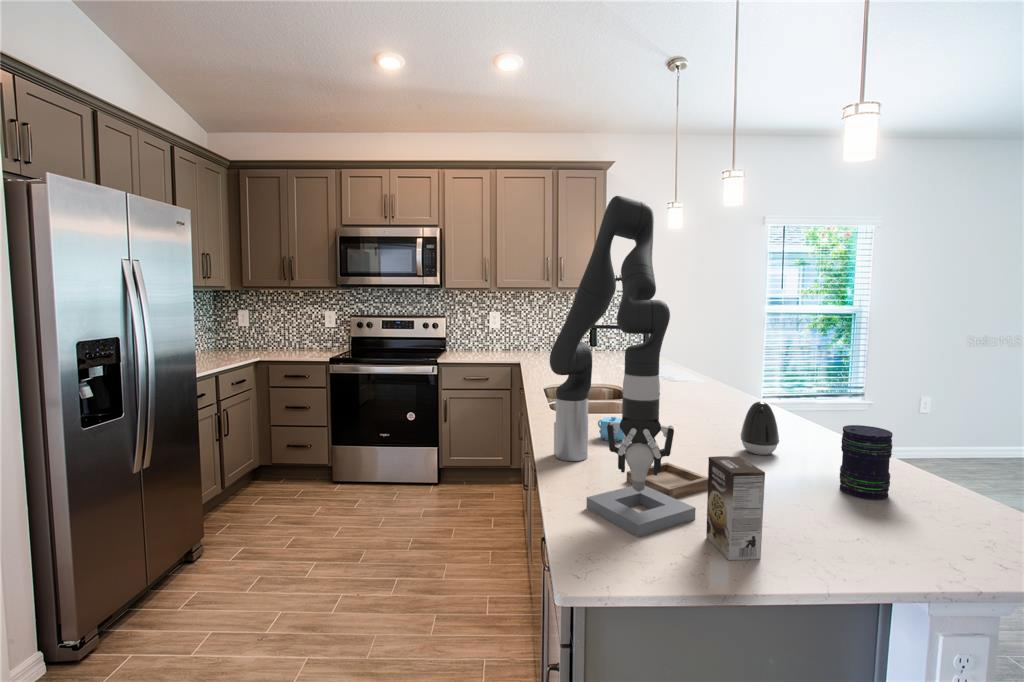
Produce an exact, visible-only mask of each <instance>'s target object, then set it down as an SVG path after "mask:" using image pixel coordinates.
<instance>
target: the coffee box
mask: <svg viewBox="0 0 1024 682" xmlns="http://www.w3.org/2000/svg"><path fill="white" fill-rule="evenodd" d="M707 470H708V471H707V477H708V489H707V498H706V499H707V503H706V506H707V507H706V539H707V540H709V542H710V543H711V544H712V545H713V546H714V547H715V548H716V549H717V550H718V551H719V552H720V553H721V554H722V555H723V556H724V557H725V559H727V561H744V560H746V561H747V560H748V561H749V559H750V560H761V558H762V557H761V556H762V541H763V540H762V537H763V536H762V535H763V523H764V521H763V519H764V500H765V480H766V471H764V470H762V469H760V468H758V467H757V466H756V465H754V464H752V463H750V461H748V460H746V459H744V458H742V456H741V457H740V456H727V455H724V456H723V455H722V456H708V467H707Z"/></svg>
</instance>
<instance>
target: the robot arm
mask: <svg viewBox="0 0 1024 682" xmlns="http://www.w3.org/2000/svg"><path fill="white" fill-rule="evenodd" d="M654 222H655V221H654V211H653V209H652V207H651V205H650V204H648V203H646V202H643V201H640V200H635V199H632V198H629V197H625V196H621V195H615V196H613V197H612V198H611V199H610V201H609V202H608V204H607V207H606V208H605V212H604V214H603V218H602V220H601V224H600V226H599V230H598V234H597V236H596V240H595V243H594V246H593V250H592V253H591V255H590V257H589V261H588V264H587V266H586V267H585V271H584V273H583V276H582V278H581V279H580V280H581V281H580V283H579V286H578V288H577V290H576V293H575V297H574V299H573V301H572V304H571V307H570V310H569V312H568V314H567V316H566V317H567V318H566V319H565V322H564V323H563V326H562V328H561V330H560V332H559V334H558V336H557V337H556V340H555V341H554V344H553V346H552V348H551V351H550V355H549V365H550V368H551V371H552V372H553V373H554V374H555V375H558V376H567V379H566V380H565V381H564V382H563V383H562V384H560V385H559V386H558V387H557V388H556V389H555V421H554V423H553V454H554V455H555V457H556V458H557V459H558V460H561V461H565V462H581V461H585V460H586V459H588V456H589V454H588V452H589V451H588V449H589V447H588V445H589V443H588V442H589V437H588V436H589V393H590V391H591V390H590V389H591V386H592V374H593V373H592V372H593V353H592V350H591V347H590V345H588V344H587V343H586V342H584V341H582V339H583V337H584V336H585V335H586V334H587V332H588V331H589V330H590V329H591V328H593V326H594V325H596V324H597V323H598V322H599V320H601V318H602V317H603V316H604V315H605V313H606V312H607V311H608V308H609V307H610V304H611V302H612V300H613V297H614V295H615V292H616V288H617V281H616V275H615V270H614V266H613V263H612V255H611V251H612V250H611V248H612V244H613V240H614V237H615V236H616V237H619V238H620V237H621V238H623V239H627V240H633V241H634V242H635V246H634V247H633V248H632V250H631V251H630V252H629V253H628V254H627V255H626V256H625V258H623V259H624V260H623V261H622V264H621V268H620V275H621V276H620V277H621V286H622V295H621V300H620V304H619V307H618V310H617V315H616V323H617V326H618V328H619V329H620V330H621V332H622V333H623V334H624V333H625V334H630V335H636V334H637V335H649V337H648V339H647V340H646V341H644V342H642V343H639V344H633V345H630V346H627V347H626V349H625V351H624V376H623V380H622V381H623V382H622V390H621V391H622V408H621V409H622V413H621V414H622V415H621V417H622V420H621V422H620V423H612V422H609V423H608V425H607V432H608V441H607V442H608V448H609V452H611V453H615V454H617V460H618V461H617V468H618V470H620V473H623V474H624V473H625V472H626V459H625V451H626V449H627V447H628V446H629V444H630V443H642V444H647V443H648V444H649V445H650V447H651V449H652V451H653V453H654V461H653V465H654V475H657V473H660V471H661V464H662V458H664V457H670V455H671V453H672V446H673V441H674V434H675V429H674V428H675V427H674V426H673V425H668V426H665V425H661V422H660V396H661V391H660V390H661V383H660V382H661V381H660V357H661V356H660V355H661V351H662V346H663V345H662V344H663V341H664V338H665V335H666V332H667V329H668V326H669V324H670V319H671V311H670V308H669V306H668V305H667V303H666V302H665V301H663V300H661V299H659V300H658V299H653V298H654V296H655V295H656V293H657V285H656V278H655V273H654V268H653V243H654V224H655V223H654ZM618 428H620V429H621V430H622V431H623V433H624V434H625V438H624V439H623V440H622V442H621V444H620V446H619V445H617V444H616V443H617V442H616V441H615V433H617V430H618ZM660 432H662V436H663V437H664V438H665V442H664V447H663V448H662V449H660V447H659V445H658V442H657V440H656V437H657V436H658V434H659V433H660Z"/></svg>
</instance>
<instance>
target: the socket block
mask: <svg viewBox="0 0 1024 682" xmlns="http://www.w3.org/2000/svg"><path fill="white" fill-rule="evenodd" d="M637 504H638V505H641V504H642V506H643V505H644V507H645V506H646V508H647V507H648V509H647V510H644V511H640V512H639V511H637V510H635V509H633V508H631V507H633V506H637ZM586 509H587V510H588V511H591V512H593V513H594V514H596V515H597V516H599V517H601V518H604V519H605V520H606V521H608V522H611V523H612V524H614V525H615V526H617V527H619V528H620V529H623V530H624V531H626V532H628V533H629V534H631V535H634V536H635V537H637V538H640V537H644V536H647V535H650V534H653V533H657V532H659V531H662V530H665V529H668V528H671V527H675V526H678V525H682V524H685V523H688V522H690V521H693V520H696V506H693V505H690V504H688V503H686V502H684V501H682V500H679V499H678V498H672V497H670V496H668V495H665V494H663V493H661V492H658V491H656V490H654V489H652V488H649V487H647V486H645V488H644V490H641V491H640V492H637V491H636V490H635V489H633V486H632V485H630V486H626V487H622V488H619V489H615V490H610V491H607V492H603V493H598V494H595V495H590V496H587V497H586Z"/></svg>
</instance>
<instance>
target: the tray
mask: <svg viewBox="0 0 1024 682" xmlns="http://www.w3.org/2000/svg"><path fill="white" fill-rule="evenodd" d="M627 481H628V483H629V482H630V484H632V478H631V470H628V471H626V482H627ZM645 486H647V487H649V488H652V489H654V490H656V491H658V492H661V493H663V494H665V495H668V496H670V497H672V498H675V499H678V498H681V497H682V498H683V497H685V495H686V496H689V495H692V493H693V494H696V493H698V492H699V491H700V492H702V491H706V489H707V490H708V476H705V475H702V474H700V473H696V472H694V471H691V470H689V469H685V468H683V467H680V466H679V465H675V464H673V463H669V462H663V463H662V462H661V471H660V473H657V475H654V464H652V465H651V466H650V468H649V470H648V472H647V478H646V480H645ZM695 492H696V493H695ZM700 492H699V493H700ZM688 494H689V495H688Z"/></svg>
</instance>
